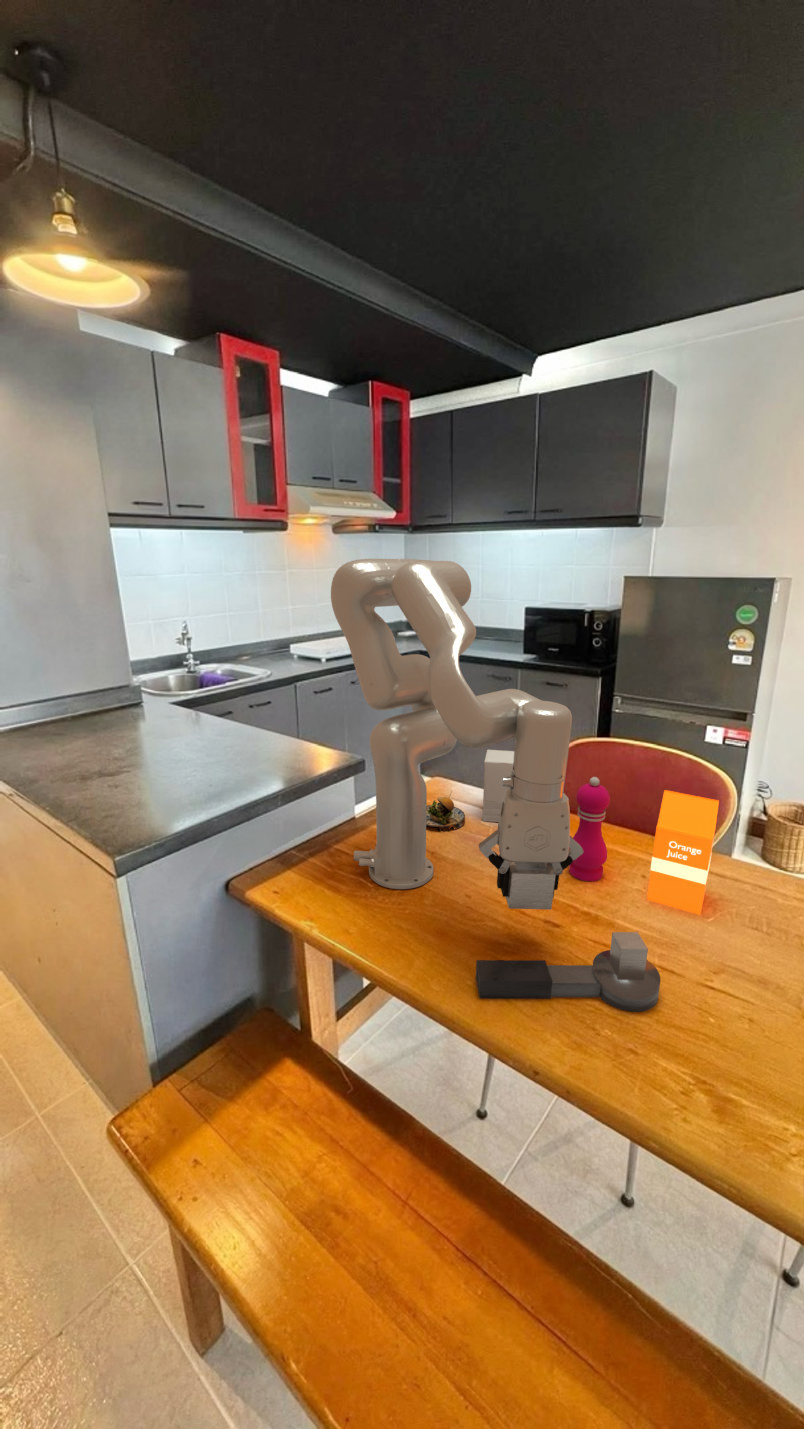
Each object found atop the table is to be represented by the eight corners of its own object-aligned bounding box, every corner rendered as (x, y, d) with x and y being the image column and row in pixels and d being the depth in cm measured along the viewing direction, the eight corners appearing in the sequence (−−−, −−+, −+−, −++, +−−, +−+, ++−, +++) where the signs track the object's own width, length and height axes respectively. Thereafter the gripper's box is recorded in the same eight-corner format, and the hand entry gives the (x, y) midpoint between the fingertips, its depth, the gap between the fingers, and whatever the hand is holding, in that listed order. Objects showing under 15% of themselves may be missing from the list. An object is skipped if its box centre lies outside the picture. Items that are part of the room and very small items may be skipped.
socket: (508, 908, 87) (512, 873, 85) (501, 884, 93) (504, 851, 91) (551, 909, 87) (555, 874, 85) (541, 885, 93) (545, 852, 91)
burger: (416, 809, 141) (417, 781, 139) (465, 811, 140) (466, 783, 138) (412, 832, 130) (412, 801, 128) (465, 834, 128) (466, 803, 126)
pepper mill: (600, 864, 116) (610, 771, 110) (609, 884, 109) (620, 785, 103) (563, 862, 116) (571, 769, 111) (569, 882, 109) (578, 783, 104)
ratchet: (481, 1011, 78) (484, 961, 76) (473, 966, 87) (475, 920, 85) (669, 1012, 78) (676, 962, 76) (642, 966, 87) (648, 920, 85)
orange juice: (700, 915, 99) (718, 808, 94) (646, 899, 104) (659, 797, 99) (705, 893, 106) (721, 792, 100) (653, 879, 110) (666, 782, 105)
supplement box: (521, 809, 141) (525, 751, 137) (521, 825, 132) (525, 763, 128) (484, 805, 143) (486, 748, 139) (481, 821, 134) (484, 760, 130)
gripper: (481, 795, 81) (473, 905, 86) (605, 798, 81) (589, 908, 86) (475, 774, 88) (467, 877, 93) (588, 777, 88) (574, 879, 93)
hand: (526, 891), depth 89 cm, fingers closed on socket, 6 cm apart
